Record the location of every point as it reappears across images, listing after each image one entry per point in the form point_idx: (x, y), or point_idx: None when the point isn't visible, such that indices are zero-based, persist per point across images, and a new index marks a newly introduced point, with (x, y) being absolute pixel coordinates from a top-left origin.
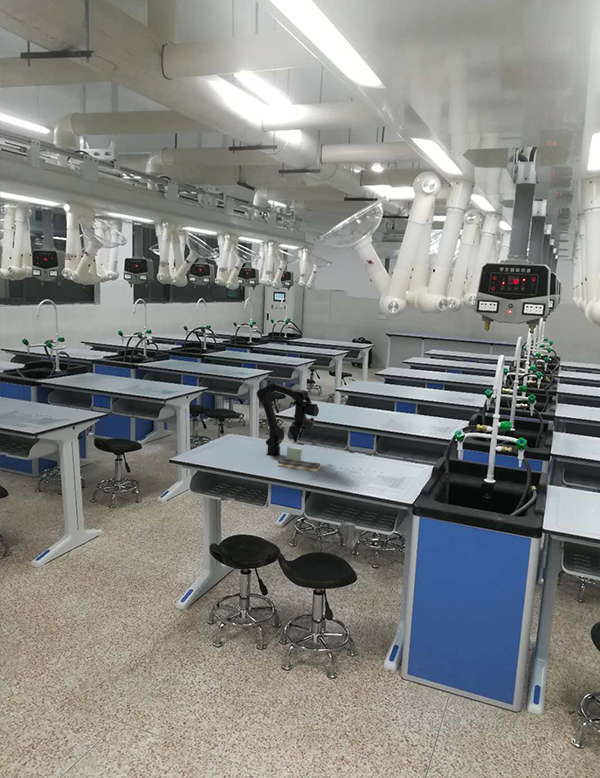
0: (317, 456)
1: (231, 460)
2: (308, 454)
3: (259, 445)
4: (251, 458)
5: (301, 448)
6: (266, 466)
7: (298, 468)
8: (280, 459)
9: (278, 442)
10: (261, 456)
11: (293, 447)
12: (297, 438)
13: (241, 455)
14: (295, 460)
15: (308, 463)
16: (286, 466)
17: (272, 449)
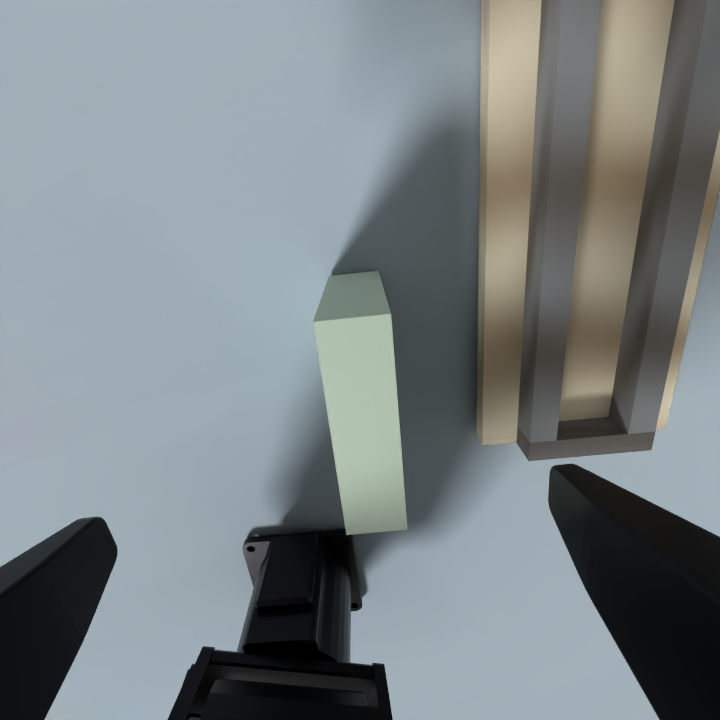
0: (6, 151)
1: (608, 704)
2: (33, 297)
3: (155, 710)
4: (503, 641)
5: (318, 329)
6: (680, 488)
7: (714, 157)
8: (597, 447)
9: (232, 675)
10: (414, 612)
11: (346, 462)
12: (680, 541)
13: (465, 703)
14: (568, 279)
15: (588, 46)
16: (678, 323)
17: (348, 623)
